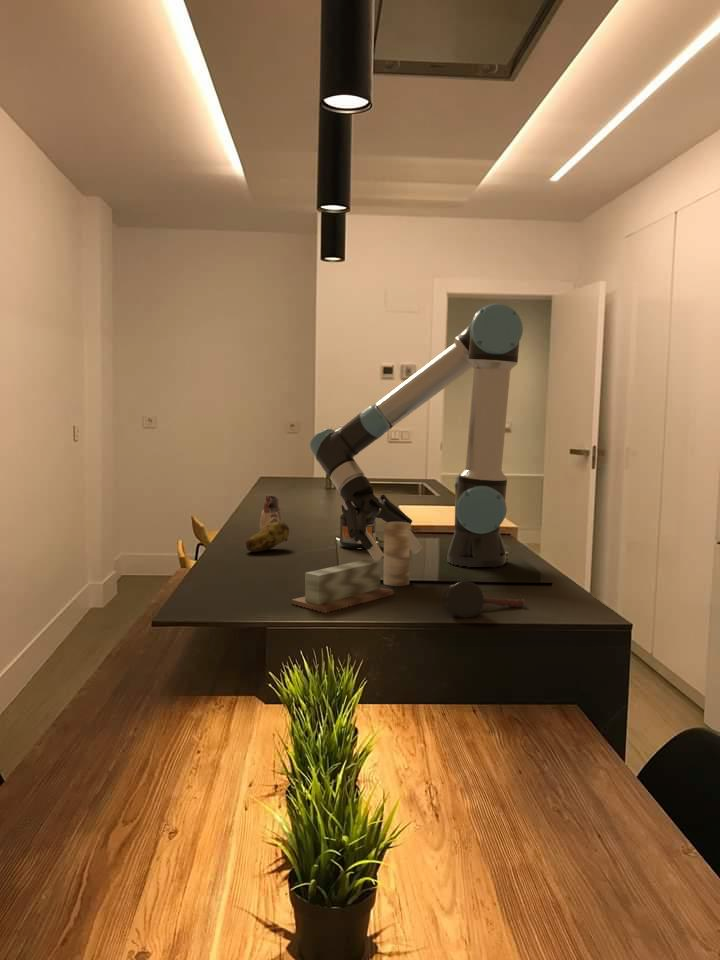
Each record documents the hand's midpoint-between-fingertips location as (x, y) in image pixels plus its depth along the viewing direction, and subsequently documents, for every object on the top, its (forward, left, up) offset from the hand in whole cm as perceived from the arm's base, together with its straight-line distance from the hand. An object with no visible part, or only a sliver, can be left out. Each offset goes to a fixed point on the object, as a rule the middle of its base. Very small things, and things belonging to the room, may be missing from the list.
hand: (399, 554), depth 193 cm
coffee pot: (-8, +28, -7) cm, 30 cm away
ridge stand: (+16, +10, -7) cm, 20 cm away
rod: (0, -1, -7) cm, 7 cm away
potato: (+21, -48, -7) cm, 53 cm away
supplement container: (-5, -47, -7) cm, 48 cm away
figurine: (+14, -77, -7) cm, 79 cm away
